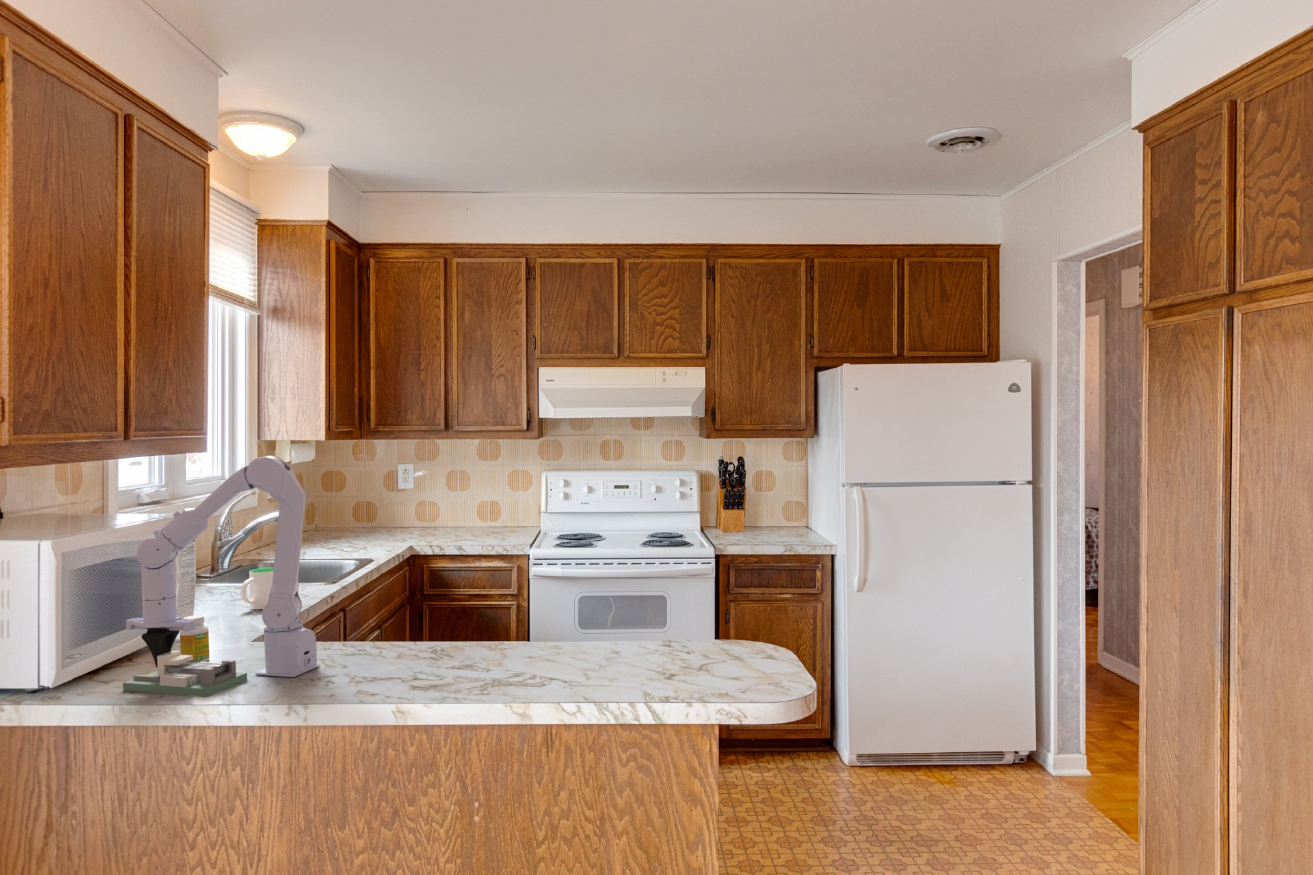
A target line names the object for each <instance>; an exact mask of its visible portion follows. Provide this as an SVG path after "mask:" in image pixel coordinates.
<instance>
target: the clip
mask: <svg viewBox="0 0 1313 875" xmlns="http://www.w3.org/2000/svg"><path fill="white" fill-rule="evenodd" d="M190 660H193V656H192V655H181V650H177V649H176V650H171V651H170V652H168V653H165V654H162V655H159V656H157V663H158V668H157V671H158V676H162V675H163V676H165V674H172V673H170V672H167V669H166V667H168V666H171V665H179V664H181V663H184V662H187V661H190Z"/></svg>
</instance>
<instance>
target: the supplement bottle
mask: <svg viewBox="0 0 1313 875" xmlns="http://www.w3.org/2000/svg"><path fill="white" fill-rule="evenodd" d="M183 618H184V619H189V620H195V630H192V631H189V632H184V631H179V645H180V646H179V647H180V649H179V650H180V651H181V655H192V656H193V660H190V661H187V662H184V663H194V664H196V663H199V662H209V660H210V638H209V637H210V636H209V631H210V630H209V627H208V626H207V625H205V624H204V623H205V616H204V615H202V614H197V615H188V616H184V617H183Z"/></svg>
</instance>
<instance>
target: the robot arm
mask: <svg viewBox="0 0 1313 875" xmlns="http://www.w3.org/2000/svg"><path fill="white" fill-rule="evenodd" d="M254 489H259V490H261V491H264V492H265V493H266V494H268V495H269V496H270V497H271V498H272V499H273V500H275V501H276V502H277V503H278V505H279V507H278V508H279V510H278V518H277V527H276V528H277V529H276V530H277V532H276V540H275V550H274V562H273V567H274V570H273V580H272V585H271V589H270V593H269V600H268V603H267V604H266V606H265V607H264V609H263V610H262V612H261V614H262V615H261V617H262V621H263V623H264V627H263V640H264V642H263V643H264V661H265V662H264V664H265V665H264V666H265V668H262V669H260V670H258V671H255V673H254V674H255V675H259V676H269V677H270V676H271V677H273V676H274V677H284V678H295V677H297V676H300V675H302V674H305V673H307V672H310V671H311V670H314V669H316V668H318V667H320V666H321V665H320V663H318V658H317V657H318V654H317V638H316V634H315V632H314V630H312V629H311V628H306V627H304V625H303V621H302V620H301V619H300V618H299V617H298V615H300V613H301V611H302V608H303V602H302V599H301V597H300V594H299V587H300V585H299V570H300V560H301V550H302V549H301V548H302V541H303V540H302V539H303V529H304V518H305V510H306V509H305V508H306V498H307V496H306V492H305V490H304V489H303V487H302V485H301V483H300V481H299V480H298V478H297V477H296V475H295V473H294V470H293V468H292V466H290V465H289V464H288V463H287V462H286V461H284V460H283V459H282V458H280V457H278V456H275V455H266V456H262V457H261V456H260V457H257V458H254V459H252V460H251V461H250V463H248V465H245V466H243V467H242V468H240V469H239V470H237V471H236V472H235V473H233V474H231V475H230V476H229V477H228V478H227V479H226V480H225V481H223V483H222V484H220V485H219V486H218V487H217V488H216V489H215V490H214V491H213V492H212V493H210V495H208V497H206V498H205V499H204V500H203V501H202V502H201V503H199V505H197V506H196V507H195V508H193V507H189V508H188V507H187V508H186V507H185V508H184V509H182V510H180V509H179V510H177V511H175V512H174V513H173V514H172V517H173V518H172V519H171V520H170V521H169V522H167V523H166V524H165V525H163V527H162V528H157V529H155V530H154V531H153V532H152V533H153V535H154V537H150V538H147V539H145V540H143V541H142V542H141V544H140V545H139V547H138V548H137V551H136V558H137V561H138V562H139V563H140V564H141V595H142V596H141V597H142V598H141V599H142V617H132V618H129V619H126V621H125V625H126V626H125V627H126V631H127V630H128V631H131V630H146V632H144V633H142V634H141V639H142V640H143V641H144V643H145V644H146V645H147V647H148V649H149V651H150V653H151V656H152V658H153V661H154V665H155V668H156V669H158V663H157V656H159V655H162V654H165V653H168V652H171V651H172V648H173V645H174V644H175V641H176V639H177V637H178V635H180V631H184V632H189V631H192V630H195V620H189V619H184V617H180V615H178V611H177V610H178V609H177V589H176V588H177V585H176V572H175V559H176V558H177V557H178V555H179V552H181V551H183V550H184V549H185V548H186V547H188V546H189V545H190V544H191V543H193V541H194V540H196V539H197V538H198V537H199V536H201V534H203V533H204V532H205V531H206V530H207V529H208V525H209V524H208V522H209V519H210V518H211V517H212V516H213V515H215V514H216V513H217V512H218V511H220V510H221V509H222V508H223V507H224V506H226V505H227V504H228V503H229V502H231V501H232V500H233V499H234V498H235V497H237V496H238V495H239V494H240V493H243V492H247V491H251V490H254Z"/></svg>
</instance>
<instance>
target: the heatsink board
mask: <svg viewBox="0 0 1313 875" xmlns="http://www.w3.org/2000/svg"><path fill="white" fill-rule="evenodd" d="M225 662H226V663H228V664H229V670H228V671H227V672H224V673H222V674H219V675H216V676H215V670H214V668H201V669H200V674H189V673H172V674H165V676H163V675H162V676H158V670H157V671H153V672H150V673H147V674H135V675H133V676H132V677H133V679H129V680H126V681H124V682H122V691H125V692H126V691H127V692H138V693H139V692H140V693H151V694H163V695H164V694H165V695H174V696H175V695H178V696H191V697H199V698H200V697H203V698H204V697H205V698H209V697H210V696H213V695H215V694H218V693H220V692H222V691H225V690H227V689H230V688H232V687H235V686H237V685H240V684H241V683H244V682H247V681H248V673H247V672H242V671H241V672H239V671H237V669H236V668H237V665H236V664H237V662H236V660H234V659H224V660H221V662H213V661H212V662H211V661H206V662H199V663H196V664H215V665H219V664H222V663H225Z"/></svg>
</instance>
